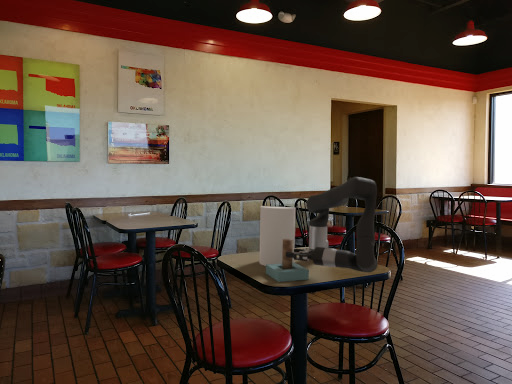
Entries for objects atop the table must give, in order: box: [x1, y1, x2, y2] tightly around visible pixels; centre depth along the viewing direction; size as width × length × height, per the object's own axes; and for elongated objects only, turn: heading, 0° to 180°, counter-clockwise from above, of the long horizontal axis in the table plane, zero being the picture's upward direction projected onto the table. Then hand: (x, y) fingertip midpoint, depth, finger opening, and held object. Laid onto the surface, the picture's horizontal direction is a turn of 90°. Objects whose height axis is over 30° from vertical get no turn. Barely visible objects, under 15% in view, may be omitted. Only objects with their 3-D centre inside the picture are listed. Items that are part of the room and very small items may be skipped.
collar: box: [265, 262, 310, 283], centre depth 171 cm, size 14×14×4 cm
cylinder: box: [258, 205, 297, 267], centre depth 195 cm, size 17×17×28 cm
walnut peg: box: [282, 239, 293, 269], centre depth 171 cm, size 4×4×16 cm
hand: (290, 252), depth 170 cm, fingers open, 8 cm apart
